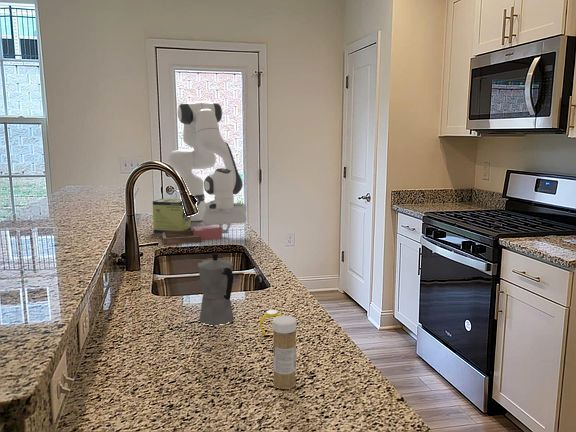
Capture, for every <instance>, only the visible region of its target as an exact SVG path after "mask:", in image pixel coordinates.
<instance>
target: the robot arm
mask: <svg viewBox="0 0 576 432" xmlns="http://www.w3.org/2000/svg"><path fill="white" fill-rule="evenodd" d="M177 117H178V121H179V122H180V123H182V124H183V135H182V136H183V137H182V139H183V142H184V144H186V145H187V146H189V147H191V149H189V148H188V149H187V148H186V149H185V148H184V149H182V148H181V149H176V150H171V151H170V153H169V155H168V157H167V159H168V160H167V161H168V164H169V166H170V167H171V168H172V167H173V168H174V169H173V168H172V169H173V170H175V171H176V172H177V173H178V175H179V174H180V175H181V176H182V178H183V179H184V181H185V183H186V185H187V187H188V189H189V191H190V193H191V194H192V195H194V197H195V198H196V199H197V208H198V211H199V213H198V214H196V215H194V216H191V222H198V221H202V224H203V225H204V226H216V225H219V226H220V227H221V229H222V235H224V234H229V229H230V227H231V224H243V223H244V224H245V223H246V222H247V205H246V204H245V203H243V202H240V203H239V202H237V203H235V197H234V195H238V194H239V193H240V192H241V191H242V188H243V179H242V177H241V176H240V173H239V171H238V169H237V165H236V161H235V160H234V156H233V152H232V150H231V147H230V146H229V145H230V144H228V142H226V140H224V139H223V137H222V135H221V133H220V127H219V122H220V121H222V117H223V110H222V106H221V104H219V102H216V101H211V102H210V101H194V102H193V101H191V102H183V103H180V104H179V105H178V108H177ZM216 155H218V156H219V157H220V158H221V159H222V161H223V163H224V167H225V168H223V167H220V168H216V169H214V173H212V174H210V175H207V176H206V178H204V180H203V178H201V177H200V176H199V175H196V174H193V171H192V170H207V169H210V168H213V167H214V166H215V164H216V161H217V158H216ZM180 175H179V176H180ZM181 176H180V177H181ZM204 191H205V192H206V193H207V194H208V195H210V196H214V199H213V200H210V201H208V202H206V201H205V198H206V197H205V196H206V195H205V192H204ZM224 225H226V228H223V226H224Z"/></svg>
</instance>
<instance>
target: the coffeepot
mask: <svg viewBox="0 0 576 432" xmlns="http://www.w3.org/2000/svg"><path fill="white" fill-rule="evenodd" d="M211 255H212V259H210V258H209V259H204V260H201V262H199V263H197V268H198V273H199V275H198V276H199V279H200V285H201V286H200V287H201V291H202V299H201V307H200V314H199V321H200V322H202V323H205V324H209V325H219V324H226V323H228V322H230V321H232V320H234V321H235V318H234V313H233V306H232V302H231V295H232V291H233V289H232V288H233V285H234V279H235V277H234V273H233V270H234V264H233V261H230V260H225V259H218V257H219V253H218V252H214V253H212V254H211ZM200 322H199V323H200Z"/></svg>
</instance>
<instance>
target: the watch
mask: <svg viewBox="0 0 576 432" xmlns="http://www.w3.org/2000/svg"><path fill="white" fill-rule="evenodd" d="M278 316H283V315H282V314H281V313H280V312H278V310H277V309H269V310H266V312H265V313H264V314H263V315H262V316H261V319H260V321H259V328H260V329H259V330H261V333H262V335H264V334H266V333H267V332H266V331H265V330H264V329H263V322H264V320H265V319H266V318H268V317H269V318H270V317H271V318H273V317H274V318H275V317H278ZM265 332H266V333H265Z"/></svg>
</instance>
